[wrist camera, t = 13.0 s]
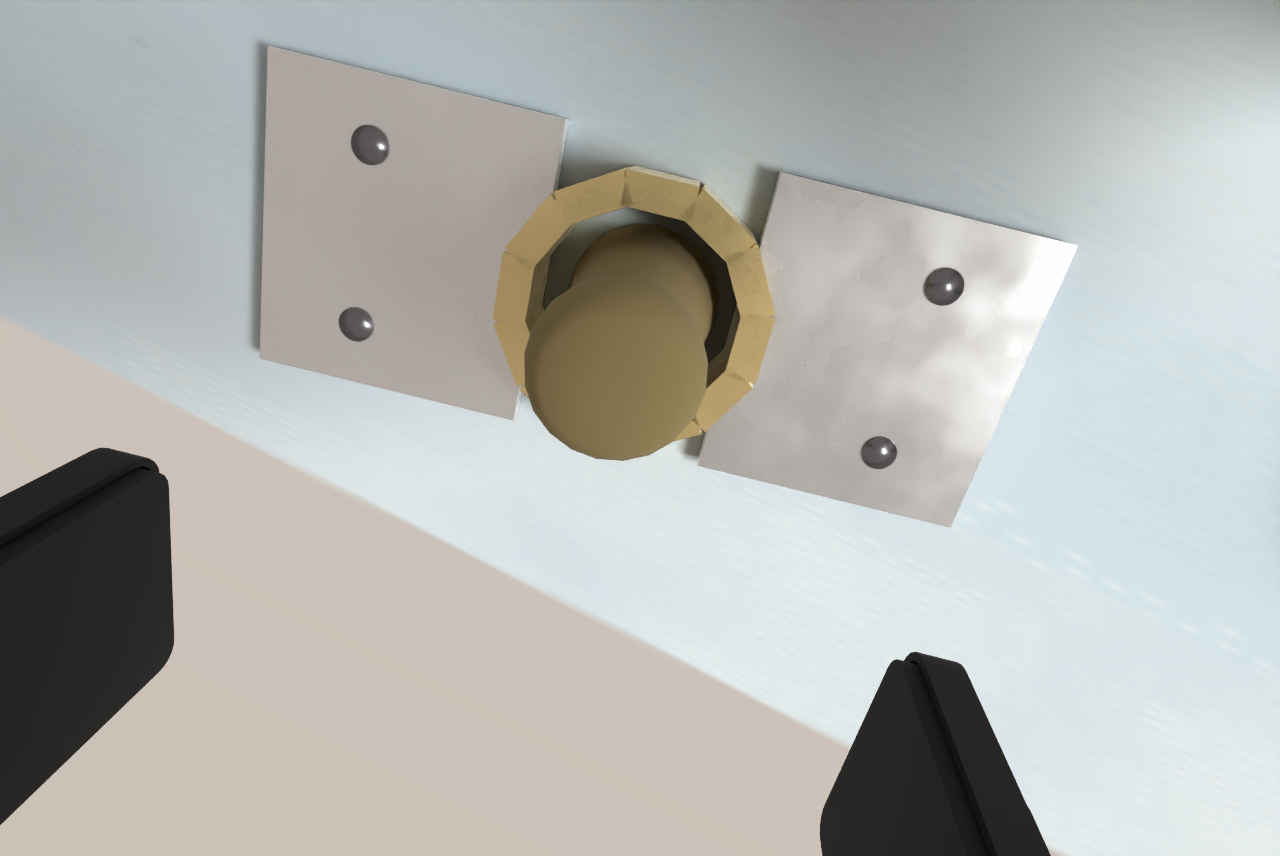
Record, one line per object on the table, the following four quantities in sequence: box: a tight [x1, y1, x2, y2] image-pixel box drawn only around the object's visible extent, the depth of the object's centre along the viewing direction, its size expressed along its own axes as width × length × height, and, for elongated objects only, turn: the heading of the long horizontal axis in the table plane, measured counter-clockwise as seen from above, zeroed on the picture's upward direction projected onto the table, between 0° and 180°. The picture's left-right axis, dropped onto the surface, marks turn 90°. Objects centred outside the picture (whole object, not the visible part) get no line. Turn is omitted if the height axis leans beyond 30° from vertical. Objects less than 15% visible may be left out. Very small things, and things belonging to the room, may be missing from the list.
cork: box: [524, 224, 719, 461], centre depth 24 cm, size 6×6×11 cm
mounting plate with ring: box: [260, 46, 1078, 527], centre depth 28 cm, size 12×30×3 cm, turn 77°
